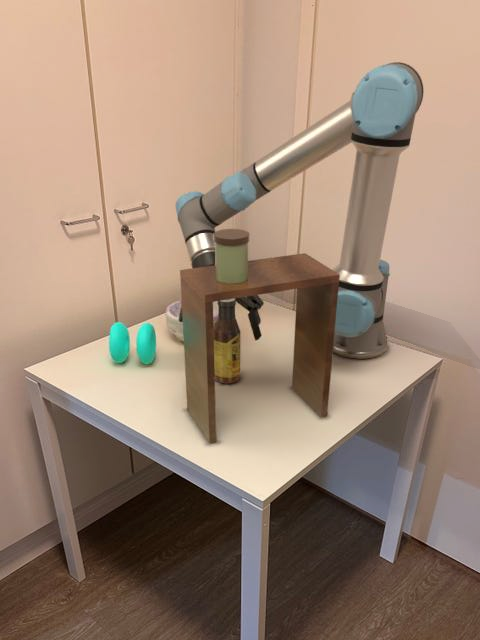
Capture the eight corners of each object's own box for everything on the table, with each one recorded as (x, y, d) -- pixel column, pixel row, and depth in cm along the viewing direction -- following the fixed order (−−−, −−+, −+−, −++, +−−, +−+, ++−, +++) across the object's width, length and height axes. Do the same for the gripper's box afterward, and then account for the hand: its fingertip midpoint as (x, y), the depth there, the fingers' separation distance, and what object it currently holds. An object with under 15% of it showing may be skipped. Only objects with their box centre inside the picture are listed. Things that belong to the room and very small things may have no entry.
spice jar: (248, 272, 120) (248, 228, 116) (250, 284, 115) (250, 238, 110) (214, 272, 120) (213, 229, 115) (214, 284, 114) (213, 239, 110)
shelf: (297, 386, 147) (305, 253, 130) (327, 416, 136) (339, 274, 119) (187, 410, 138) (179, 270, 121) (209, 443, 127) (204, 294, 110)
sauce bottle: (237, 386, 147) (237, 305, 136) (211, 383, 148) (209, 303, 137) (242, 373, 152) (243, 294, 142) (217, 370, 154) (216, 292, 143)
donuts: (151, 371, 153) (147, 333, 148) (110, 370, 154) (105, 332, 148) (158, 353, 162) (155, 316, 156) (119, 351, 162) (115, 315, 157)
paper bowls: (209, 353, 162) (208, 324, 157) (157, 342, 167) (154, 314, 162) (232, 330, 173) (232, 302, 169) (183, 321, 178) (182, 294, 174)
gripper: (251, 259, 154) (275, 339, 150) (151, 272, 146) (175, 358, 142) (260, 243, 147) (286, 327, 143) (156, 256, 139) (181, 346, 135)
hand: (231, 343), depth 143 cm, fingers open, 13 cm apart
